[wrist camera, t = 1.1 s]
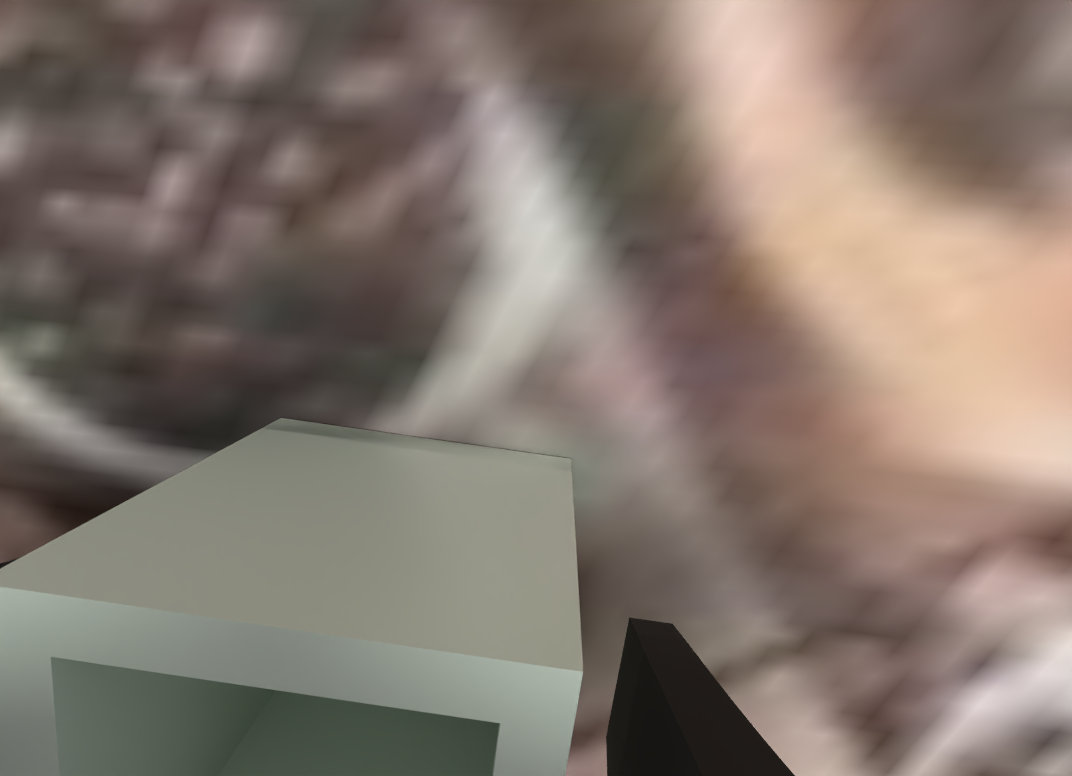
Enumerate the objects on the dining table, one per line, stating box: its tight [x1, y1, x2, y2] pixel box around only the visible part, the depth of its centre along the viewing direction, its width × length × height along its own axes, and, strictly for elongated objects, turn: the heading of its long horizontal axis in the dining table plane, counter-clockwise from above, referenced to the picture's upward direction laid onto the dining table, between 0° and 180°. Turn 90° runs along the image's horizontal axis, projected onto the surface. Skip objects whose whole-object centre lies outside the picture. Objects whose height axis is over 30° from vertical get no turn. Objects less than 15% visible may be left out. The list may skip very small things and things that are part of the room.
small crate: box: [0, 418, 583, 776], centre depth 7 cm, size 5×5×5 cm
